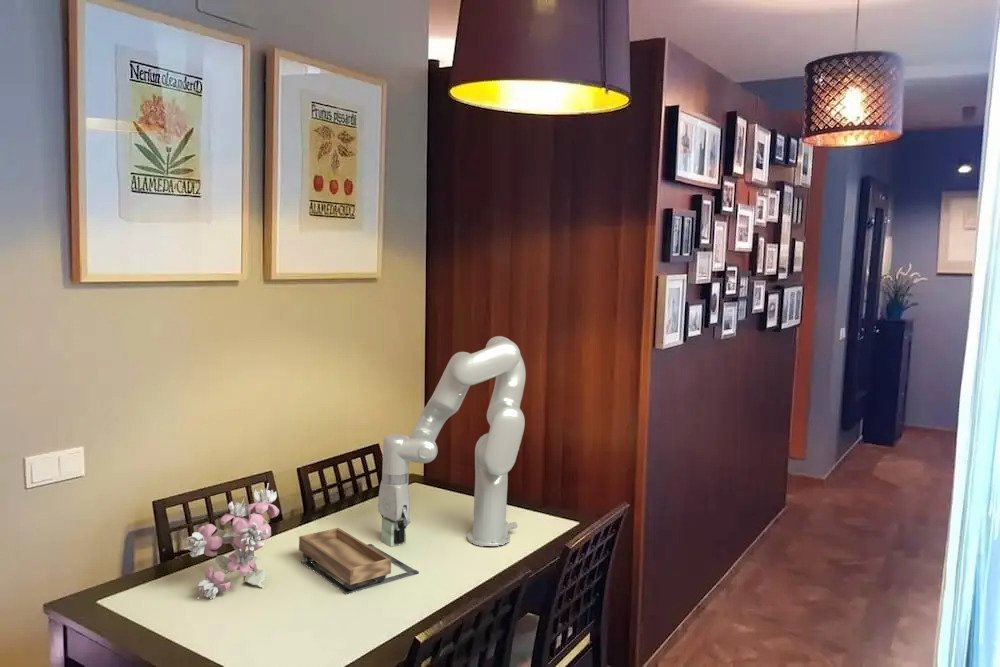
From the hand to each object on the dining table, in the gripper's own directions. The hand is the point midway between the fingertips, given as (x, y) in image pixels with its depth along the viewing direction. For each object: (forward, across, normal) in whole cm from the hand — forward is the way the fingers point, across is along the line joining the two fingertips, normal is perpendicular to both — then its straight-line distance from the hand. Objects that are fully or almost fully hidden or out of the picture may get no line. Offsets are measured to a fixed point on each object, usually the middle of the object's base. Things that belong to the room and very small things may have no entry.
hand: (393, 538), depth 222 cm
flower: (+1, +4, -49) cm, 49 cm away
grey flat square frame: (+1, +10, -17) cm, 20 cm away
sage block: (+1, 0, 0) cm, 1 cm away
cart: (+1, +10, -22) cm, 24 cm away
